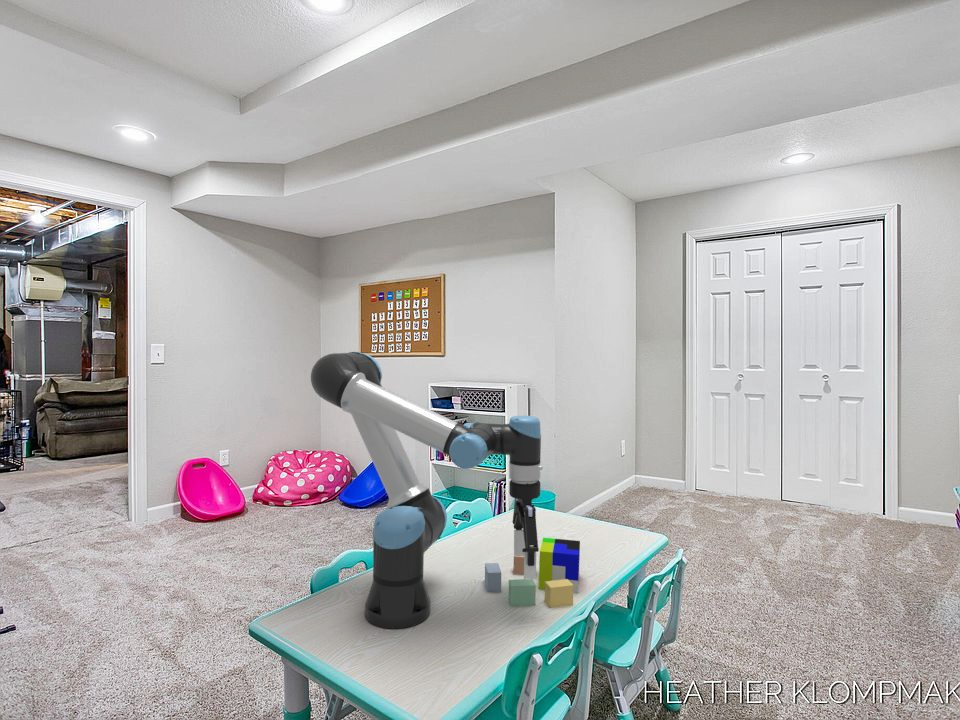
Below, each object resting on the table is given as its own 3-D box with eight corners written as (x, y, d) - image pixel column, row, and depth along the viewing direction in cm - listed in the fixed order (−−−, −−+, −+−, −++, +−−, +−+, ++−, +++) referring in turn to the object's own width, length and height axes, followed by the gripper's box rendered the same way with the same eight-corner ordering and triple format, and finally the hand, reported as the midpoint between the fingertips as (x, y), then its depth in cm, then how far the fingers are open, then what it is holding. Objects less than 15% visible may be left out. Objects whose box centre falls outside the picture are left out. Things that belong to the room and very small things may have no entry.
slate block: (501, 591, 142) (501, 572, 142) (487, 592, 141) (487, 572, 141) (497, 581, 148) (498, 562, 148) (484, 581, 147) (485, 563, 147)
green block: (510, 606, 134) (511, 586, 134) (508, 599, 138) (508, 579, 137) (535, 605, 135) (535, 585, 135) (532, 598, 138) (532, 579, 138)
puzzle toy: (577, 593, 142) (579, 555, 141) (538, 589, 144) (539, 551, 143) (578, 577, 151) (580, 541, 151) (542, 573, 153) (543, 537, 153)
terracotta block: (513, 574, 152) (513, 556, 152) (514, 569, 156) (514, 551, 156) (535, 576, 151) (535, 558, 151) (535, 570, 155) (536, 553, 155)
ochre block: (550, 608, 134) (550, 587, 134) (544, 601, 137) (545, 581, 137) (572, 605, 135) (573, 585, 135) (566, 598, 139) (567, 579, 139)
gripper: (552, 493, 123) (551, 588, 124) (529, 467, 148) (529, 546, 149) (518, 494, 122) (518, 589, 123) (502, 468, 147) (501, 547, 148)
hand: (524, 566), depth 136 cm, fingers open, 13 cm apart
